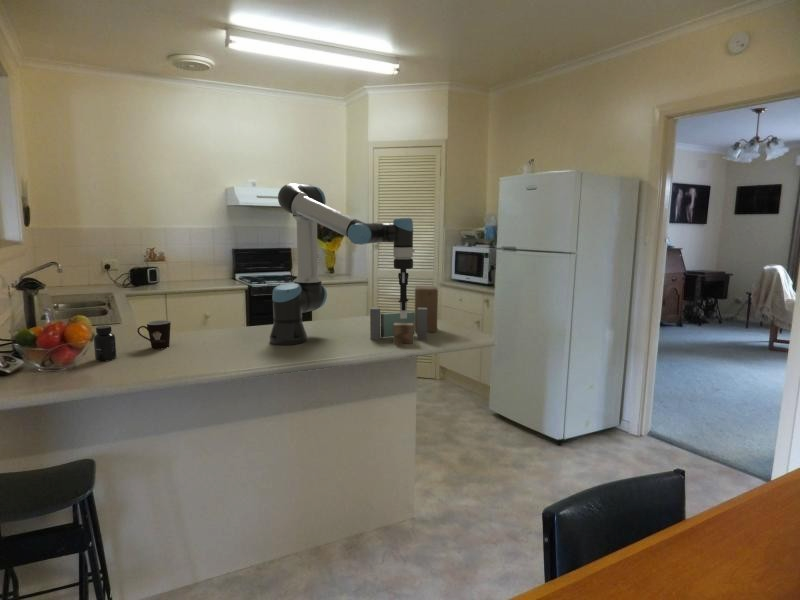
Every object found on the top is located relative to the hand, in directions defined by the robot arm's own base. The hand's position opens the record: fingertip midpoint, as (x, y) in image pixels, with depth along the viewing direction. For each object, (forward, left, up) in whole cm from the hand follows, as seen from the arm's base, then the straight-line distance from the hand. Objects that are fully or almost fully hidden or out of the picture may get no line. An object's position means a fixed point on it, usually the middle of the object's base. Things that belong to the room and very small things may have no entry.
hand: (403, 318), depth 202 cm
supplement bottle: (-108, -19, -12) cm, 111 cm away
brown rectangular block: (0, +8, -12) cm, 14 cm away
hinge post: (-12, +16, -12) cm, 23 cm away
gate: (-3, +18, -12) cm, 22 cm away
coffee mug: (-98, -1, -12) cm, 99 cm away
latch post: (+8, +16, -12) cm, 21 cm away
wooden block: (+10, +31, -12) cm, 35 cm away
